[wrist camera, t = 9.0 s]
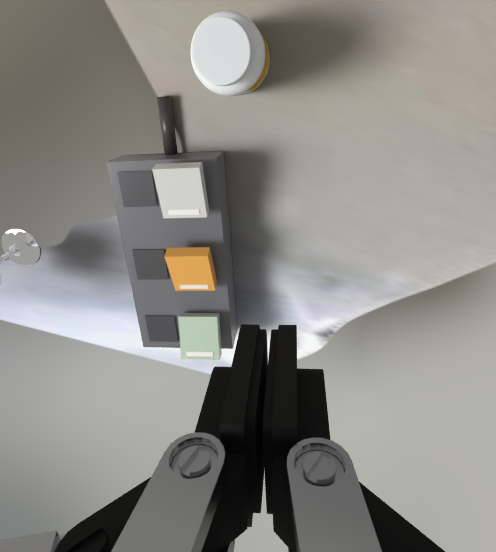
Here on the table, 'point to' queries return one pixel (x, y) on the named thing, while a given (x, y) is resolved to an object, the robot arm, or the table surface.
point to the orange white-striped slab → (191, 268)
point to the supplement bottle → (229, 54)
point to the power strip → (172, 240)
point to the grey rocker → (181, 190)
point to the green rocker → (200, 335)
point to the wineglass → (19, 247)
